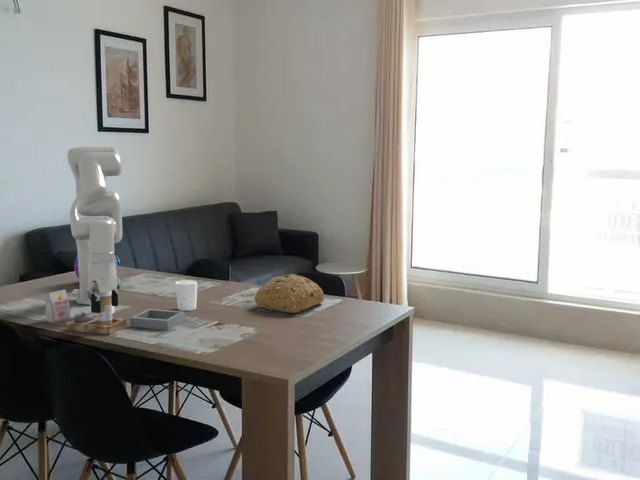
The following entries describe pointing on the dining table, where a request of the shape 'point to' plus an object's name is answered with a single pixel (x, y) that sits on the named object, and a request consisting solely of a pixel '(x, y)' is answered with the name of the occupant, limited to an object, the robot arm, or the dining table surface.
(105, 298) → the sprinkles bottle
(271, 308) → the bread
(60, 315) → the white food bag
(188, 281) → the white cup
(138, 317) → the tray
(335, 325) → the dining table surface
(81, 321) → the holder
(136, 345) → the dining table surface
